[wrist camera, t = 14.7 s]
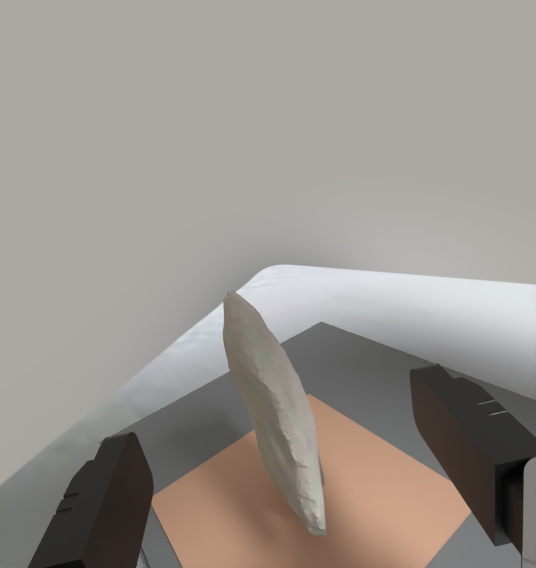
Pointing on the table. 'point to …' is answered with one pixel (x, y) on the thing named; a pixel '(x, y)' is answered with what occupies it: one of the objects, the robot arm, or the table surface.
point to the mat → (336, 467)
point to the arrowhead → (276, 410)
